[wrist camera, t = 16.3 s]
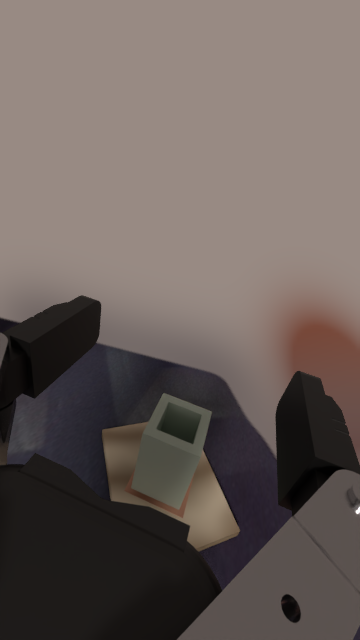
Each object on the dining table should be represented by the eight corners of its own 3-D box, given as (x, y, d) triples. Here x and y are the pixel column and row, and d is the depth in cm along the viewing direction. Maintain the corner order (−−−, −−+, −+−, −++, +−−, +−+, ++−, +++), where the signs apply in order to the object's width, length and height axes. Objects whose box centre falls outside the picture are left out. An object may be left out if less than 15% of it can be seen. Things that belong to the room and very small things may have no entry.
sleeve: (130, 488, 31) (142, 433, 26) (150, 445, 36) (163, 392, 31) (179, 510, 30) (200, 457, 25) (192, 462, 35) (212, 411, 30)
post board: (101, 435, 37) (104, 407, 34) (185, 420, 42) (193, 395, 40) (122, 583, 25) (128, 558, 22) (236, 535, 30) (253, 511, 27)
